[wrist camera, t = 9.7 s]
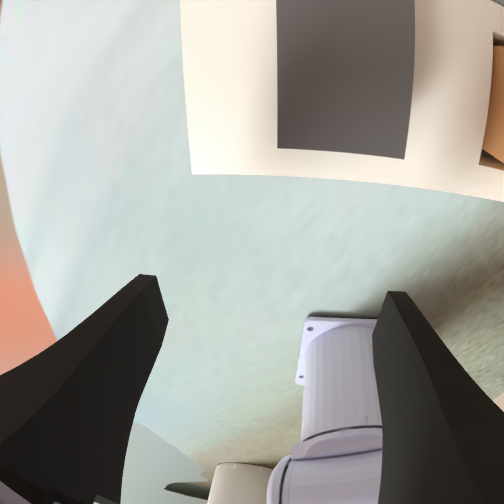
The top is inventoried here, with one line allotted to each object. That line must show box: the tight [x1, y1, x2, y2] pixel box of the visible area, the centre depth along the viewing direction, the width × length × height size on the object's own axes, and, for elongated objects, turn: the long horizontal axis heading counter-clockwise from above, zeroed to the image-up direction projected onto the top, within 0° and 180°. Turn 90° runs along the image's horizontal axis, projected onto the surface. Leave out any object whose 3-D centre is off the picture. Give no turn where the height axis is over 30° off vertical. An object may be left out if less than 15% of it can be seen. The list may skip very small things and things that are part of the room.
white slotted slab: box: [180, 0, 504, 202], centre depth 9 cm, size 22×10×7 cm, turn 91°
